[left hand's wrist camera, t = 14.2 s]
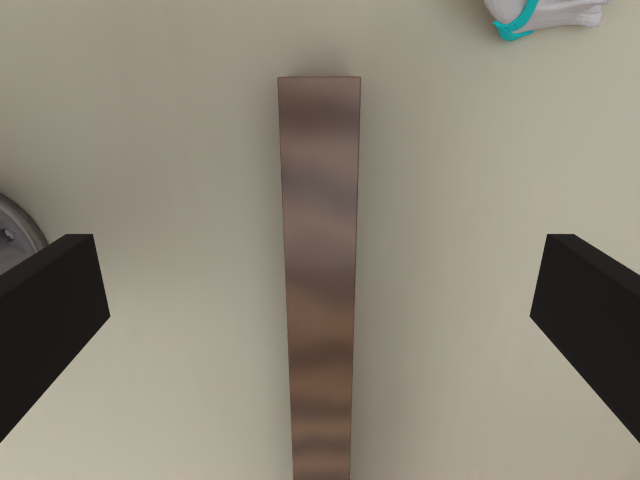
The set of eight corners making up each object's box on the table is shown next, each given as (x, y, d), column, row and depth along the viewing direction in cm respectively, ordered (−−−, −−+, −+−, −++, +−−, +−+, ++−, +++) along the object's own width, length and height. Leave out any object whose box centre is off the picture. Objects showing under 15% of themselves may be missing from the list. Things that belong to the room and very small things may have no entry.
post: (286, 76, 36) (277, 77, 28) (352, 76, 35) (360, 76, 28) (300, 513, 55) (297, 583, 48) (342, 513, 55) (346, 583, 48)
